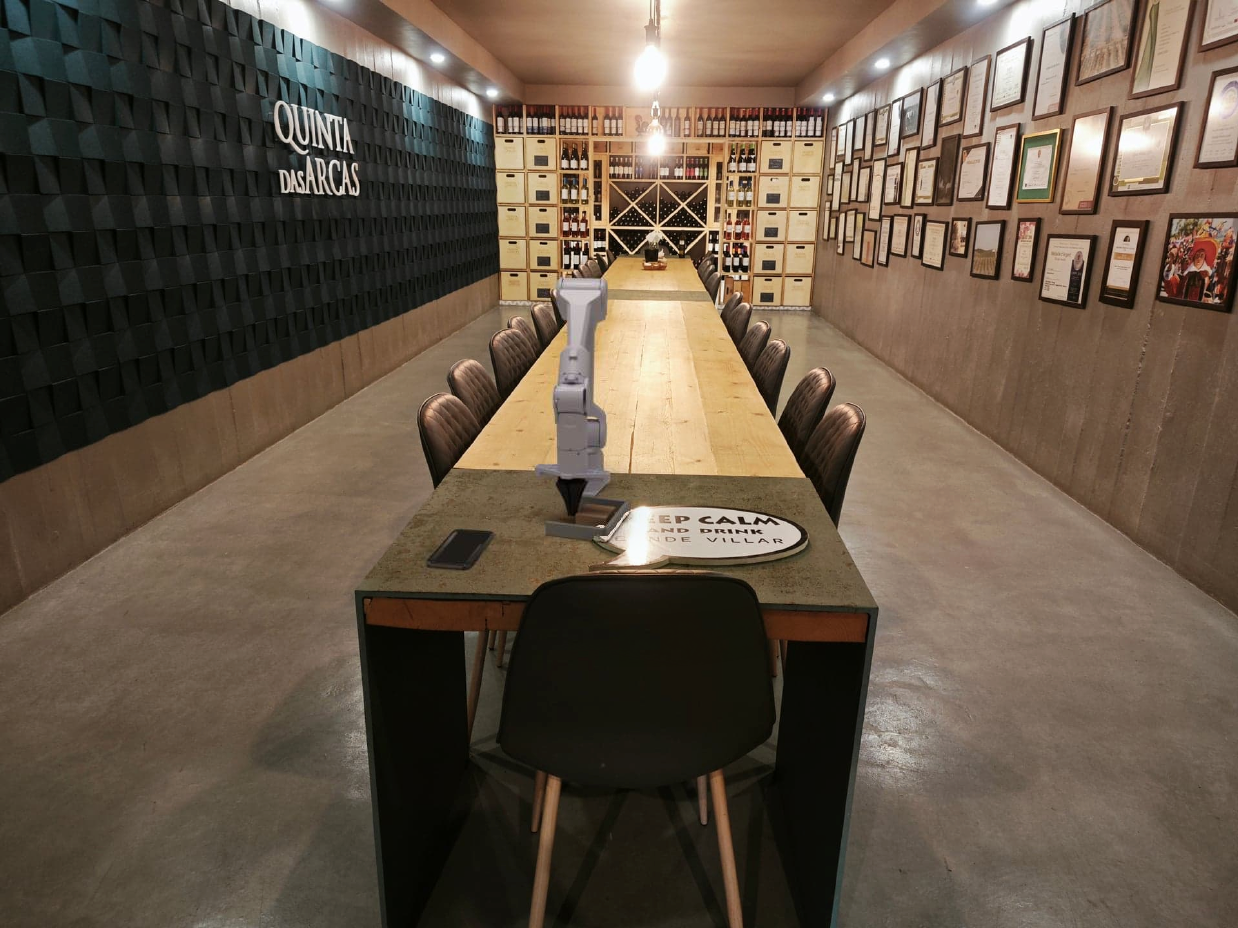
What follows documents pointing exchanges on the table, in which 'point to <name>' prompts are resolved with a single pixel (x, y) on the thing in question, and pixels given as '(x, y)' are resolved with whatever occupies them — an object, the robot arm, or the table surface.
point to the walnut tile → (594, 515)
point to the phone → (460, 549)
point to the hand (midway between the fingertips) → (572, 514)
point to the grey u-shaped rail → (589, 531)
